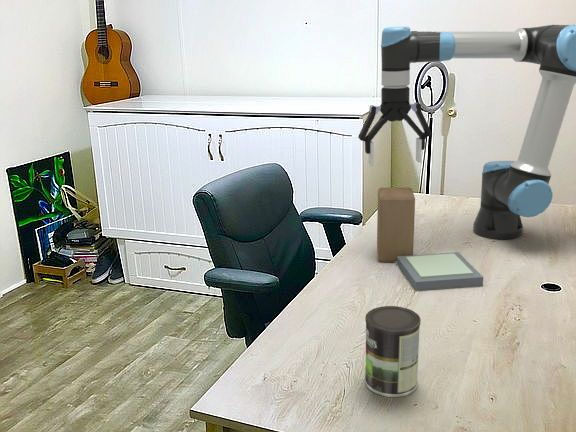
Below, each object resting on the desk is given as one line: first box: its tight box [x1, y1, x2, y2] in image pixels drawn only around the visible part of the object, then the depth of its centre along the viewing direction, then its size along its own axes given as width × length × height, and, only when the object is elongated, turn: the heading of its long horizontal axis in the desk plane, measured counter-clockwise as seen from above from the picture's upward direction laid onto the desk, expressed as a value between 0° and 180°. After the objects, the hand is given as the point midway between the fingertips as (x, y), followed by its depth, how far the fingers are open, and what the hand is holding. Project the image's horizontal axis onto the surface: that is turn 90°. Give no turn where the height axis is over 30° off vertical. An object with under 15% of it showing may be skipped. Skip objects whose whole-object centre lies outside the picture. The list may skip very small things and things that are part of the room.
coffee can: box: [364, 305, 422, 398], centre depth 121 cm, size 10×10×14 cm
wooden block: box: [376, 187, 416, 263], centre depth 182 cm, size 10×10×20 cm
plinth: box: [396, 251, 484, 292], centre depth 171 cm, size 18×18×3 cm
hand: (394, 163), depth 177 cm, fingers open, 13 cm apart
